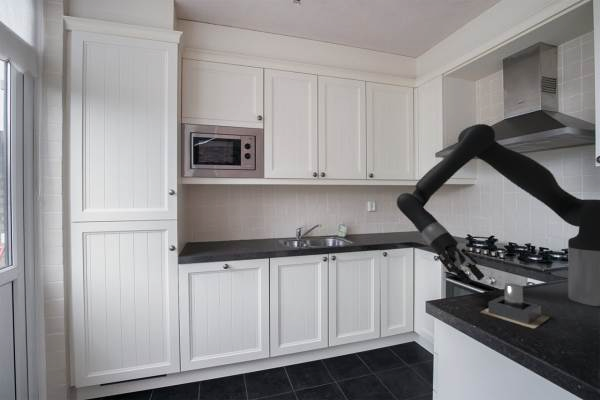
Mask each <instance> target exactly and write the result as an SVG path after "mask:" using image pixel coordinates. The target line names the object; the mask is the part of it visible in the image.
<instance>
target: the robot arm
mask: <svg viewBox="0 0 600 400" xmlns="http://www.w3.org/2000/svg"><path fill="white" fill-rule="evenodd" d="M495 139H496V133H495V130H494V129H493V127H492V126H491V125H488V124H484V123H478V124H474V125H472V126H467V127H466V128H464V129H463V130H462V131H461V132H460V133H459V135H458V137H457V142H458V145H457V146H456V147H455V148H454V149H453V150H452V151H451V152H450V153H449V154H448V155H446V156H445V157H444V158H443V159H442V160H441V161H439V162H438V163H437V164H435V165H434V166H433V167H431V168H430V169H429V170H428V171H427V172H426V173H425V174H424V175H423V176H422V177H421V178H420V179H419V180H418V181H417V183H415V189H414V191H413V192H412V193H408V192H404V193H401V194H399V196H397V199H396V205H397V208H398V209H399V210H400V212H401V213H402V214H403V215H404V216H405V217H406V218H407V219H408V220H409V221H410V222H411V223H412V224H413V225H414V227H415V228H416V229H417V231H418V232H419V233H420V234H421V235H422V237H423V239H424V241H426V243H427V244H428V245H429V246H430V247H431V249H433V251H434V252H435V253H436V254H437V259H438V260H439V261H440V262H441V263H442V266H444V268H445V269H446V270H447V271H448V273H451V274H452V273H454V275H457V277H459V279H460V280H461V281H462V283H463V284H466V285H467V284H469V283H471V281H472V279H471V277H470V276H469V275H468V273H466V272H465V270H464V269H462V267H465V268H467V269H468V270H469V271H470V272H471V273H472V275H473V276H474V277H475V278H476V279H477V280H481V279H483V278H484V277H485V274H484V273H483V272H482V271H481V270H480V269H479V268H478V267H477V264H478V261H477V260H476V259H475V258H474V257H473V256H472V255H471V254H470V253H469V252H468V251H467V250H466V249H465V248H462V249H461V250H460V249H459V248H457V246H458V244H459V242H458V240H457V239H456V238H455V237H454V236H453V235H452V234H451V233H450V232H449V231H448V229H446V227H444V225H442V224H441V222H439V221H438V220H437V219H436V218H435V217H434V216H433V215H432V214H431V213H430V212H429V211H427V210H426V209H425V208H424V207H425V206H426V204H427V203H428V202H429V200H430V199H431V197H432V196H433V195H435V193H436V192H438V190H439V189H441V187H442V186H444V185H445V184H446V183H447V182H448V181H449V180H450V179H451V178H452V177H453V176H455V175H456V173H457V172H458V171H460V170H461V169H462V168H463V167H464V166H465V165H466V164H468V163H469V162H471V161H472V160H473V159H474V158H475V157H476V158H478V159H480V160H481V161H483V162H485V163H486V164H488V165H489V166H491V168H493V169H494V170H495V171H497V172H498V173H499V174H500V175H502V176H503V177H504V178H506V179H507V180H508V181H510V182H511V183H512V184H514V185H515V186H517V187H518V188H520V189H522V190H523V191H525V192H526V193H528V194H529V195H530V196H532V197H533V198H535V199H536V200H537V201H539V202H541V203H543V204H544V205H545V206H546V207H547V208H549V209H550V210H551V211H553V212H554V213H555V214H556V215H558V217H560V218H561V219H562V220H563V221H564V222H566V223H567V224H569V225H571V226H574V227H578V232H577V234H576V235H575V236H573V237H570V238H569V239H568V241H567V251H568V252H567V254H568V255H567V256H568V259H567V261H568V262H567V263H568V267H567V268H568V270H567V271H568V281H567V282H568V286H567V287H568V299H569V300H571V301H573V302H576V303H579V304H584V305H588V306H591V307H592V306H593V307H594V306H595V307H600V199H592V198H591V199H588V198H587V199H585V198H584V199H581V198H578V197H576V196H574V195H572V194H570V193H569V192H567V191H566V190H565V189H563V188H562V187H561V186H560V185H559V183H558V182H557V179H556V177H555V176H554V174H553V173H552V172H551V171H550V170H549V169H548V168H547V167H545V166H544V165H542V164H540V163H539V162H538V161H536V160H535V159H533V158H531V157H529V156H527V155H526V154H525V155H524V154H522V153H520V152H518V151H515V150H512V149H511V148H507V147H505V146H504V145H502V144H500V143H499V142H497V141H496V140H495Z"/></svg>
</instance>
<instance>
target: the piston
mask: <svg viewBox="0 0 600 400" xmlns="http://www.w3.org/2000/svg"><path fill="white" fill-rule="evenodd" d="M504 297H505V305H508V306H512V307H515V308H519V309H523V301H524V286H523V285H520V284H517V283H513V282H512V283H509V282H508V283H507V282H506V283H504Z"/></svg>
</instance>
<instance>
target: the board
mask: <svg viewBox="0 0 600 400" xmlns="http://www.w3.org/2000/svg"><path fill="white" fill-rule="evenodd" d="M480 313H481V314H485V315H488V316H490V317H494V318H498V319H500V320H504V321H507V322H511V323H514V324H518V325H521V326H523V327H527V328H530V329H536V328H538V327H539V326H540V325H542V324H543V323H544V322H546V321H547V320H549V319H550V316H547V315H543V314H541V317H540V318H538V319H537V320H535V321H534V322H532V323H531V324H529V325H528V324H524V323H521V322H518V321H514V320H511V319H508V318H505V317H501V316H498V315H495V314H491V313H489V307H488V308H485V309H484V310H482V311H480Z"/></svg>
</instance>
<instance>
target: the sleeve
mask: <svg viewBox="0 0 600 400" xmlns="http://www.w3.org/2000/svg"><path fill="white" fill-rule="evenodd" d="M487 305H488V308H489V313H491V314H495V315H498V316H501V317H505V318H508V319H511V320H514V321H518V322H521V323H524V324H528V325H529V324H531V323H532V322H534V321H535V320H537V319H538V318H540V317H541V315H542V305H540V304H537V303H531V302H528V301H524V300H523V309H519V308H515V307H512V306H508V305H505V295H501V296H498V297H497V298H494V299H492V300H490V301H488V304H487Z"/></svg>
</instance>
